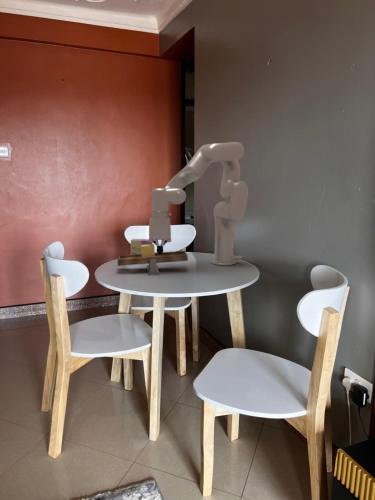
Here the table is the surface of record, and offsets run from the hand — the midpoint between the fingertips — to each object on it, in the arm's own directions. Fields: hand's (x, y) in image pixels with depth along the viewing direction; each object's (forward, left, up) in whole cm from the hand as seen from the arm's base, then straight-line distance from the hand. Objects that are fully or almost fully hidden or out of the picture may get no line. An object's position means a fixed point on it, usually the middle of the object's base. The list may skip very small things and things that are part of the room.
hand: (159, 254), depth 178 cm
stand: (+3, 0, -8) cm, 9 cm away
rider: (+5, 0, -2) cm, 6 cm away
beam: (+3, 0, -3) cm, 5 cm away
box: (+8, -19, -8) cm, 22 cm away
